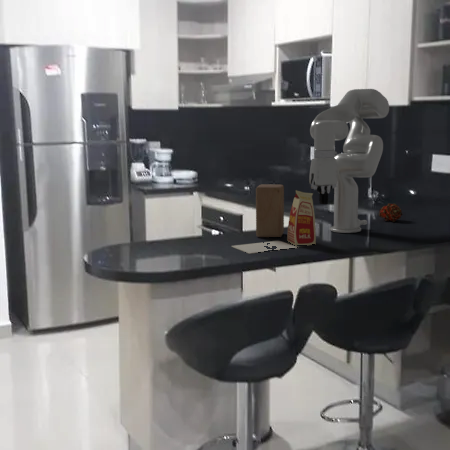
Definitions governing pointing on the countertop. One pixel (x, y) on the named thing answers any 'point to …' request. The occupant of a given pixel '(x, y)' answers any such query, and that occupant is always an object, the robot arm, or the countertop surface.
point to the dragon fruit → (390, 212)
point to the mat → (262, 246)
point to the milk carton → (302, 220)
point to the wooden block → (269, 210)
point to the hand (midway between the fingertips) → (323, 203)
